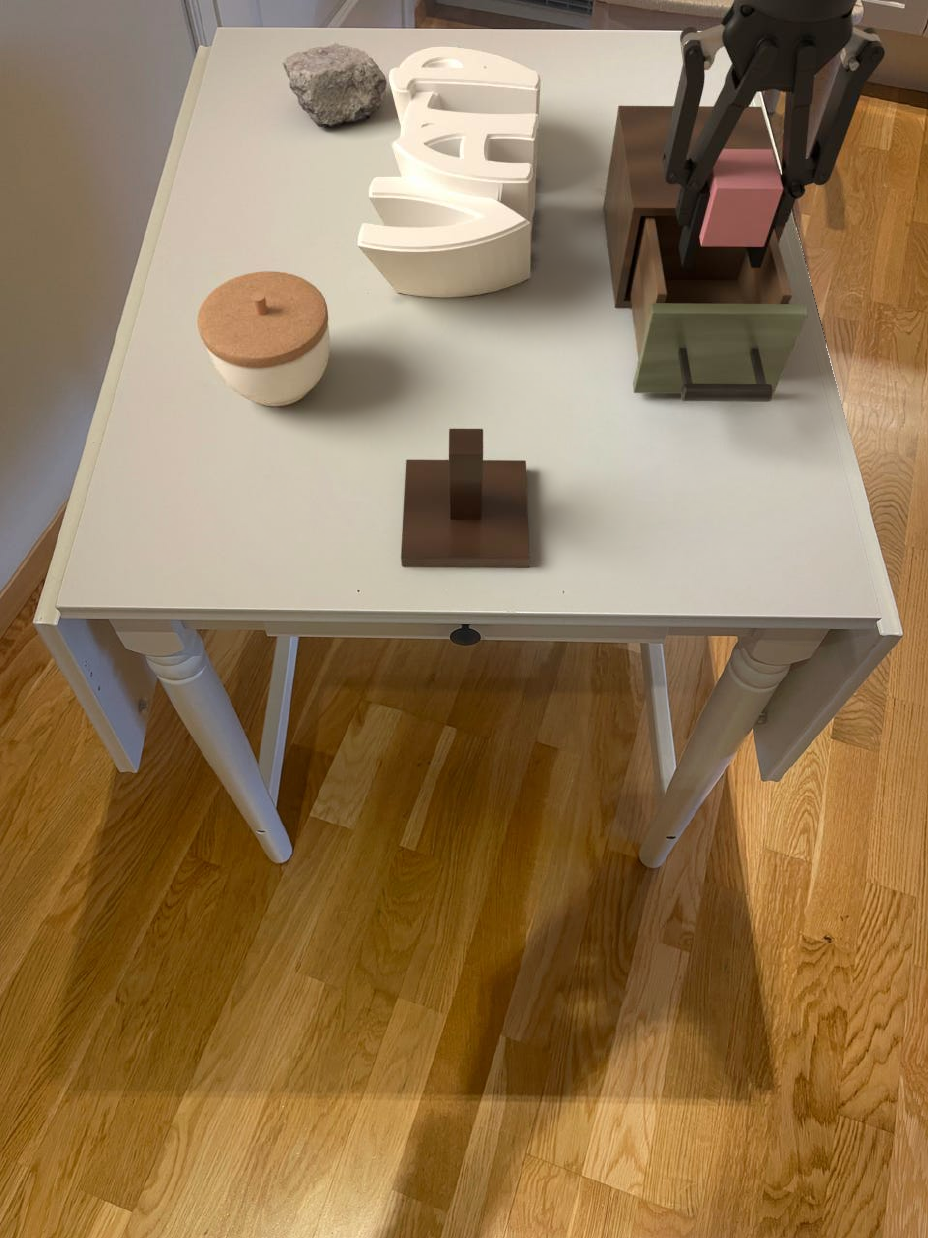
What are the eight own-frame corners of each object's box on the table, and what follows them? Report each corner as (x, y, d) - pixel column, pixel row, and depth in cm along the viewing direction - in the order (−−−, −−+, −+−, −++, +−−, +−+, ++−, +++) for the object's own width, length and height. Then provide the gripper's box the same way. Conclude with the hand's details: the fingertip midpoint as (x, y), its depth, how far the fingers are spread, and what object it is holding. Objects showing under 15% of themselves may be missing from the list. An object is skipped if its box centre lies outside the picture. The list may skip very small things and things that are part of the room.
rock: (391, 143, 102) (383, 72, 104) (389, 83, 94) (380, 8, 96) (293, 149, 101) (287, 77, 103) (282, 88, 93) (276, 12, 95)
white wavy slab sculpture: (520, 339, 82) (528, 240, 73) (348, 322, 83) (334, 223, 74) (552, 127, 100) (561, 26, 91) (410, 115, 101) (404, 14, 92)
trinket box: (353, 406, 78) (341, 322, 70) (235, 440, 76) (208, 357, 68) (318, 328, 83) (303, 241, 75) (206, 358, 81) (178, 271, 73)
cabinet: (755, 308, 85) (791, 208, 75) (614, 307, 85) (633, 207, 75) (732, 207, 92) (761, 106, 83) (602, 207, 92) (618, 105, 83)
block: (763, 246, 70) (783, 188, 65) (700, 246, 70) (716, 187, 65) (753, 207, 72) (772, 148, 68) (692, 207, 72) (707, 148, 68)
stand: (528, 567, 69) (536, 495, 61) (401, 566, 69) (394, 494, 61) (525, 469, 74) (532, 391, 67) (406, 468, 74) (400, 390, 67)
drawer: (785, 441, 75) (821, 362, 67) (639, 440, 75) (659, 361, 67) (748, 284, 85) (776, 201, 77) (620, 283, 85) (635, 200, 77)
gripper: (948, -102, 55) (818, 229, 75) (661, -104, 55) (607, 227, 75) (983, -44, 51) (836, 287, 71) (674, -47, 51) (614, 286, 71)
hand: (719, 256), depth 73 cm, fingers closed on block, 5 cm apart
